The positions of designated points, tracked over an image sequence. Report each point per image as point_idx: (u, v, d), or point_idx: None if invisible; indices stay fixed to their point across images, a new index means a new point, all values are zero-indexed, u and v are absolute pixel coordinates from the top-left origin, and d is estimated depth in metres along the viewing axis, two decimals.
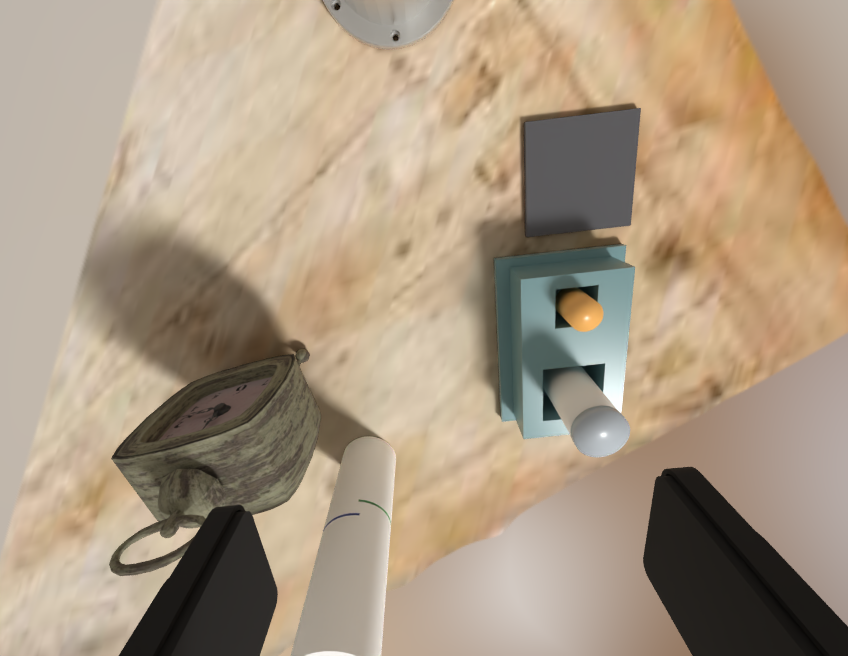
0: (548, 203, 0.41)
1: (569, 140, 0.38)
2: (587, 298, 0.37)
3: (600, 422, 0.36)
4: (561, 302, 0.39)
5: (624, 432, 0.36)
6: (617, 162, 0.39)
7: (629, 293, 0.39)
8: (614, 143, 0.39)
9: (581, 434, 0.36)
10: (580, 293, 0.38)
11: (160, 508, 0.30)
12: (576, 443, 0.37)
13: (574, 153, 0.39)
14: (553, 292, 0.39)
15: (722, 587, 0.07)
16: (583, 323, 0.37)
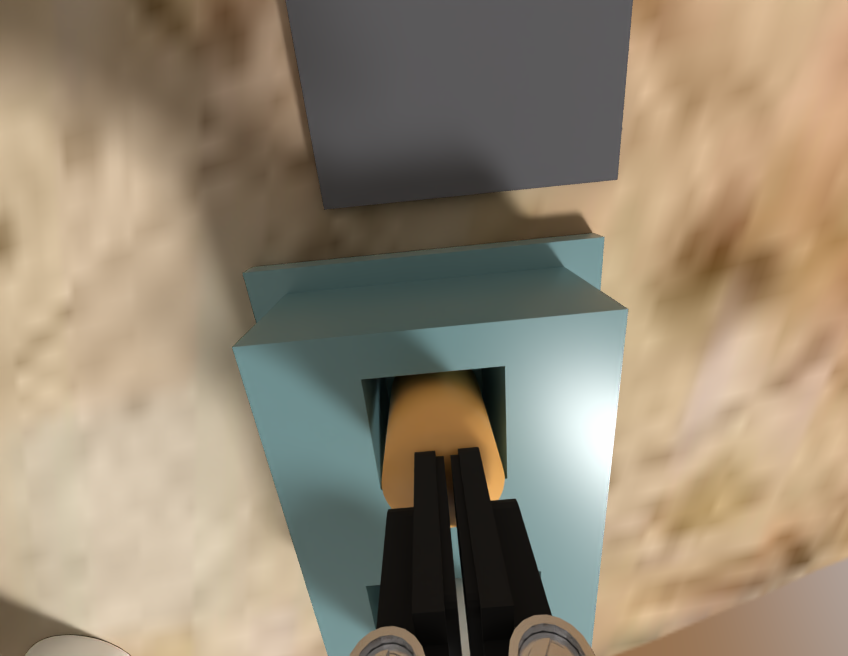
0: (372, 106, 0.14)
1: None
2: (445, 422, 0.10)
3: None
4: (389, 409, 0.12)
5: None
6: None
7: (608, 392, 0.12)
8: None
9: None
10: (440, 389, 0.11)
11: None
12: None
13: None
14: (355, 388, 0.12)
15: None
16: None
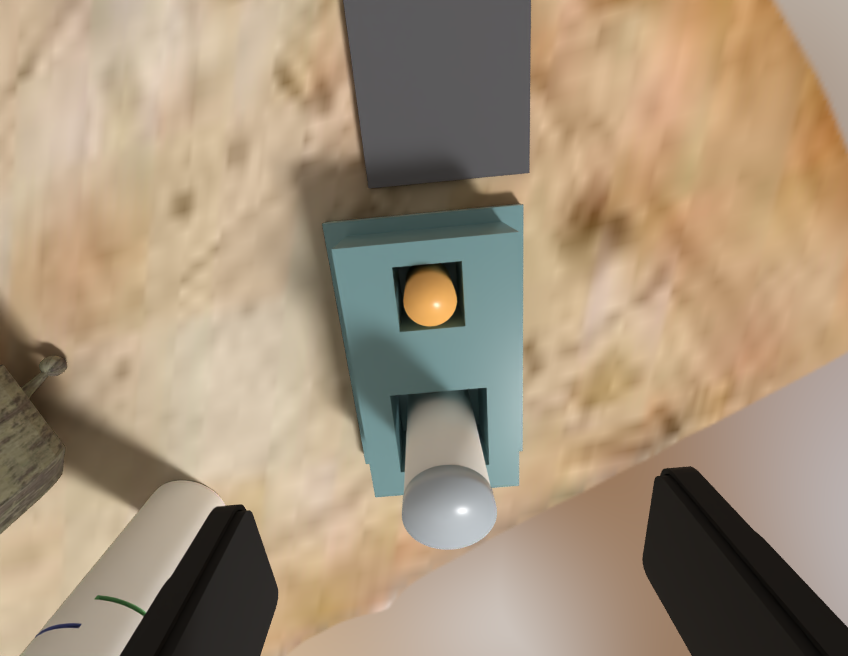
0: (396, 133, 0.26)
1: (418, 24, 0.23)
2: (431, 273, 0.23)
3: (443, 495, 0.21)
4: (405, 281, 0.26)
5: (487, 511, 0.21)
6: (500, 65, 0.24)
7: (513, 276, 0.24)
8: (493, 31, 0.24)
9: (413, 514, 0.21)
10: (429, 267, 0.25)
11: None
12: (407, 528, 0.21)
13: (428, 47, 0.24)
14: (389, 272, 0.24)
15: (721, 586, 0.07)
16: (427, 313, 0.24)
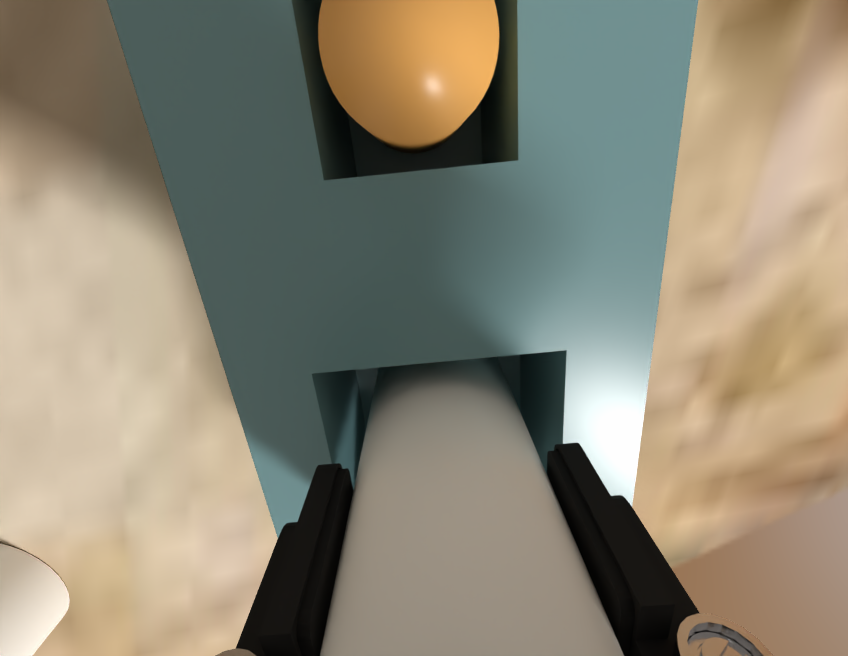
0: None
1: None
2: None
3: None
4: None
5: None
6: None
7: None
8: None
9: None
10: None
11: None
12: None
13: None
14: None
15: (579, 541, 0.08)
16: (402, 94, 0.07)
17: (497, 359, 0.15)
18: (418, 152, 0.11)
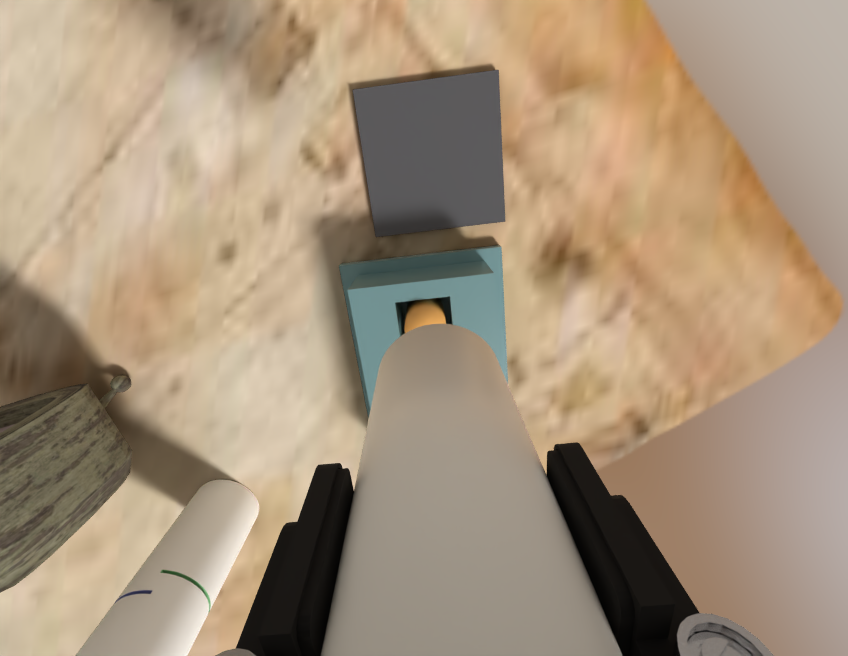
0: (397, 194, 0.32)
1: (412, 113, 0.30)
2: (425, 306, 0.30)
3: None
4: None
5: None
6: (477, 140, 0.31)
7: (491, 307, 0.30)
8: (470, 116, 0.30)
9: None
10: (425, 301, 0.31)
11: None
12: None
13: (421, 129, 0.31)
14: (392, 306, 0.30)
15: (579, 541, 0.08)
16: None
17: (497, 360, 0.15)
18: None
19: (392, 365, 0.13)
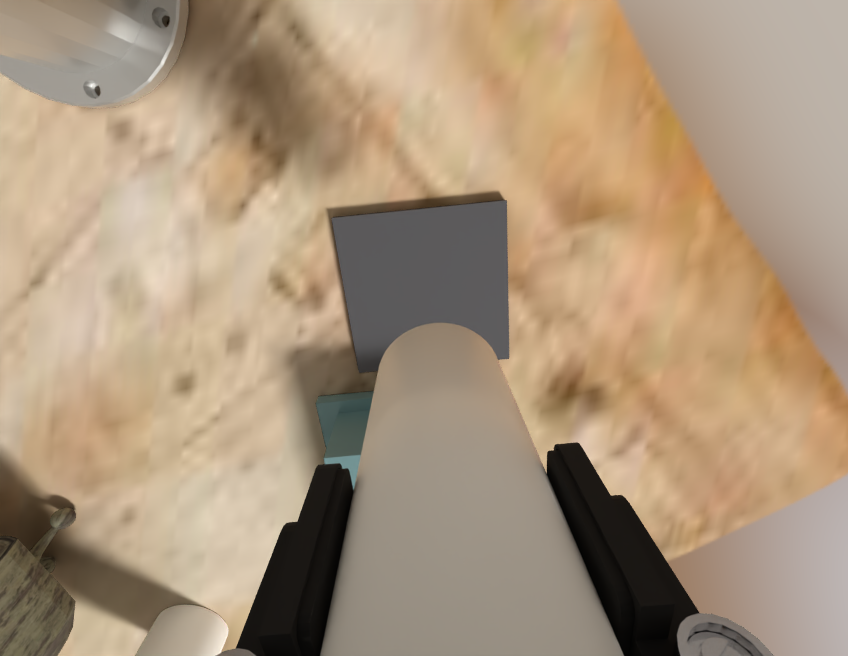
0: (384, 329, 0.27)
1: (403, 244, 0.25)
2: None
3: None
4: None
5: None
6: (479, 275, 0.26)
7: None
8: (472, 249, 0.25)
9: None
10: None
11: None
12: None
13: (413, 262, 0.26)
14: None
15: (579, 541, 0.08)
16: None
17: (497, 360, 0.15)
18: None
19: (392, 364, 0.13)
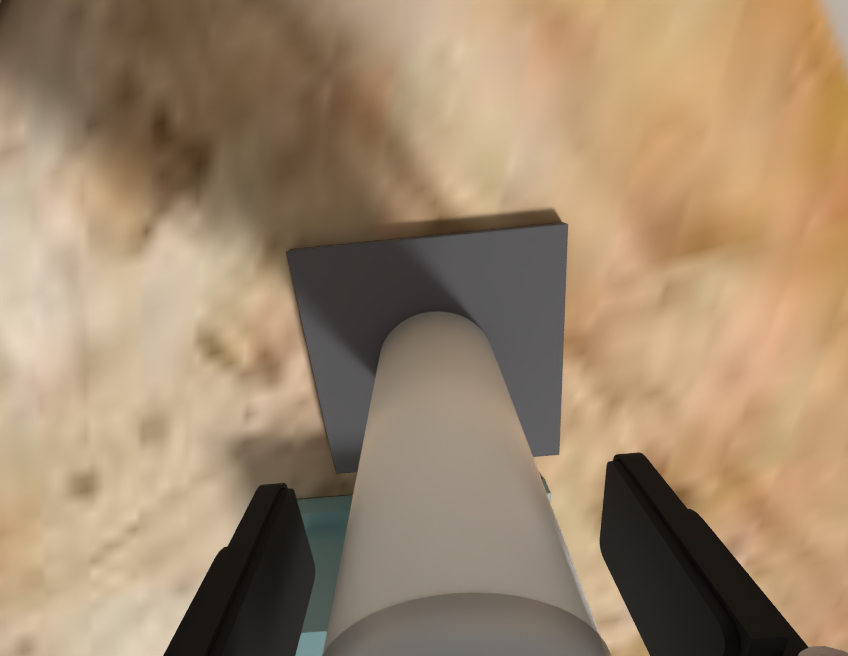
0: None
1: (401, 292, 0.16)
2: None
3: None
4: None
5: None
6: (520, 338, 0.17)
7: None
8: (510, 299, 0.16)
9: None
10: None
11: None
12: None
13: None
14: None
15: (656, 560, 0.07)
16: None
17: (490, 345, 0.16)
18: None
19: (392, 350, 0.14)
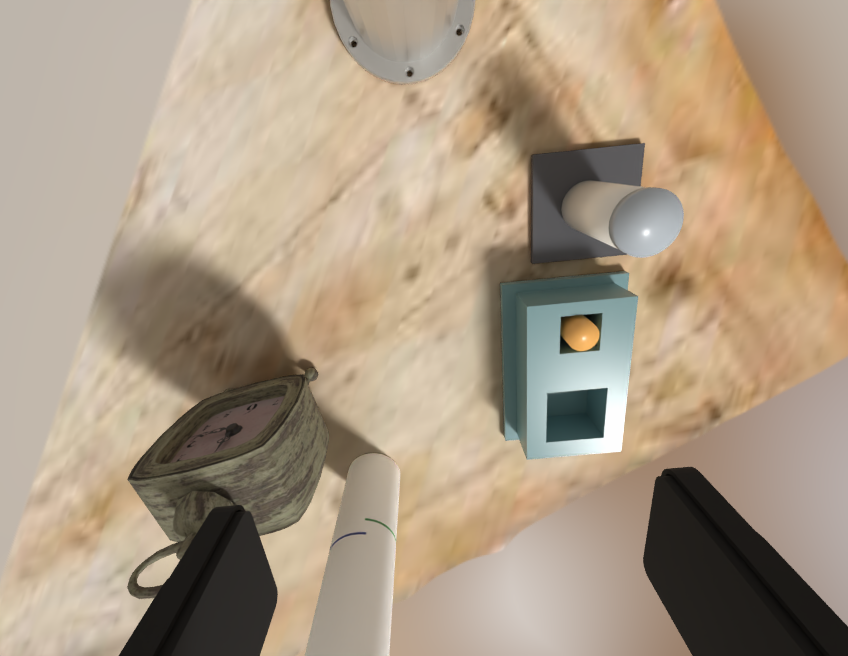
0: (554, 231, 0.42)
1: (575, 172, 0.40)
2: (584, 320, 0.39)
3: (647, 204, 0.29)
4: None
5: (676, 219, 0.29)
6: None
7: (632, 321, 0.40)
8: (619, 176, 0.40)
9: (623, 223, 0.29)
10: (578, 315, 0.41)
11: (176, 530, 0.31)
12: (616, 237, 0.30)
13: None
14: (558, 319, 0.40)
15: (722, 587, 0.07)
16: (581, 344, 0.40)
17: None
18: None
19: (578, 190, 0.38)
